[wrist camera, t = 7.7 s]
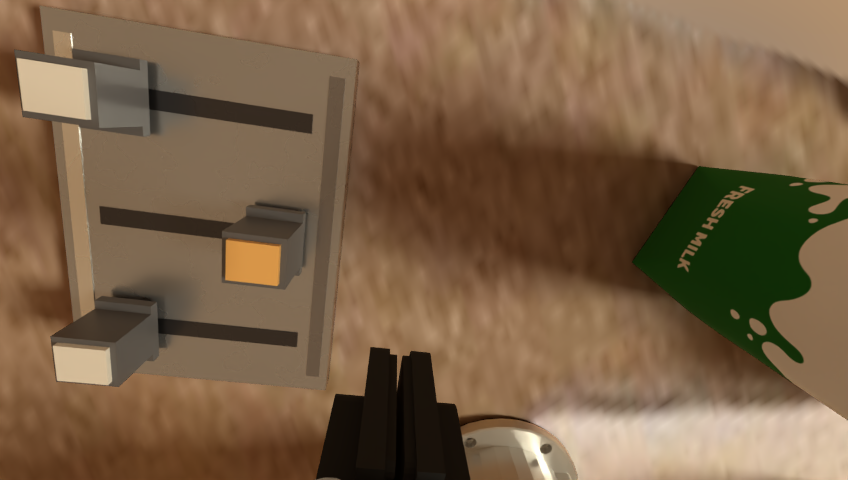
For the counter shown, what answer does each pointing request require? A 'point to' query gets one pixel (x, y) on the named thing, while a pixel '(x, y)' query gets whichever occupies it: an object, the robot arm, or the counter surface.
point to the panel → (209, 195)
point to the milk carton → (763, 270)
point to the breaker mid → (264, 248)
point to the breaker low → (86, 90)
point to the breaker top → (107, 342)
